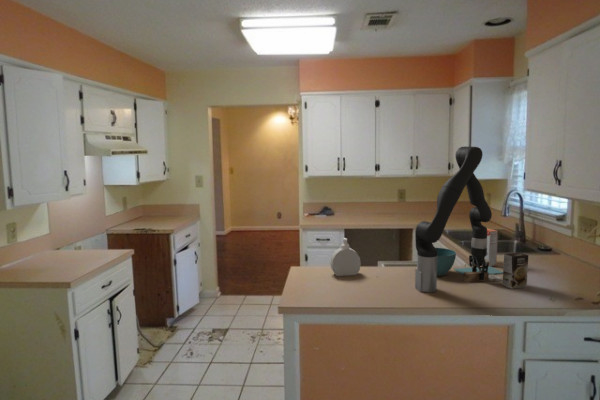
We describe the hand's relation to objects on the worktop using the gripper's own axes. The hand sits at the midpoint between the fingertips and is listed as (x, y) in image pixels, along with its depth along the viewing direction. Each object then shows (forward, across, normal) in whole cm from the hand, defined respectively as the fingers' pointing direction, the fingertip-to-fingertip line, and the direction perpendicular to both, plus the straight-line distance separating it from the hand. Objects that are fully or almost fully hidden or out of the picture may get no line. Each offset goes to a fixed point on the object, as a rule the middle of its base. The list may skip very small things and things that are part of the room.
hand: (477, 277), depth 205 cm
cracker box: (+1, -26, +20) cm, 33 cm away
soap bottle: (+1, -23, -64) cm, 68 cm away
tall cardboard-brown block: (+1, 0, +2) cm, 2 cm away
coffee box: (+1, +12, +12) cm, 17 cm away
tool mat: (+1, -12, +8) cm, 14 cm away
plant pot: (+1, -14, -15) cm, 21 cm away
